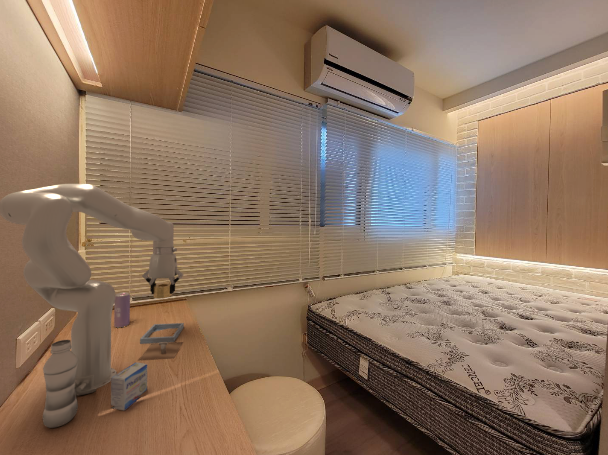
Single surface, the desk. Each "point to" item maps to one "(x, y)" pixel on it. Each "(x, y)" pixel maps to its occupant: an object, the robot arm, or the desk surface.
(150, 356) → the board
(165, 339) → the tray
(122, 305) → the beverage can
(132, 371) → the medicine box
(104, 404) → the desk surface
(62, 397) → the plastic bottle
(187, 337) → the desk surface
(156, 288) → the ring
